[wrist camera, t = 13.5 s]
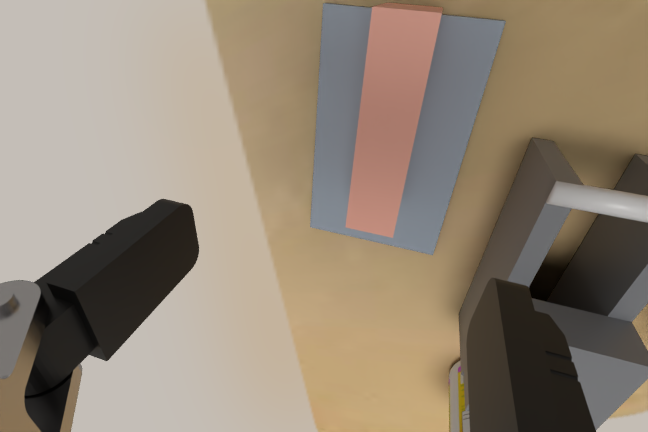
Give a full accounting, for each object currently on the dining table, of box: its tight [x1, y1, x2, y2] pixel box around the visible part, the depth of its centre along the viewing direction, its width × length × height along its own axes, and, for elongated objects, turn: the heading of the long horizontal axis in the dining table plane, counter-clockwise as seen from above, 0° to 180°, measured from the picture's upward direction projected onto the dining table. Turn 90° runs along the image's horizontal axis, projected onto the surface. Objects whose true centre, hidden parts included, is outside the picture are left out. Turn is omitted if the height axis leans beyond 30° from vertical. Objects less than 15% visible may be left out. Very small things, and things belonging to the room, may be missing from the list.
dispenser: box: [459, 138, 648, 430], centre depth 22 cm, size 16×7×9 cm, turn 176°
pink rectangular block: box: [345, 3, 443, 238], centre depth 21 cm, size 12×3×5 cm, turn 176°
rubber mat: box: [310, 3, 506, 255], centre depth 24 cm, size 16×10×1 cm, turn 176°
